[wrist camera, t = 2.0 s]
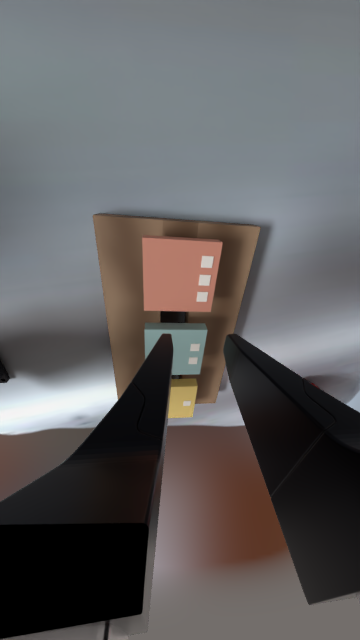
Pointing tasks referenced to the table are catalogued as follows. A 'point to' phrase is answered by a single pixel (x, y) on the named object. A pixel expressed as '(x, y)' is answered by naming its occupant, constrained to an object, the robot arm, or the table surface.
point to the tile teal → (180, 344)
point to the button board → (129, 316)
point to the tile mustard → (182, 398)
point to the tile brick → (179, 273)
